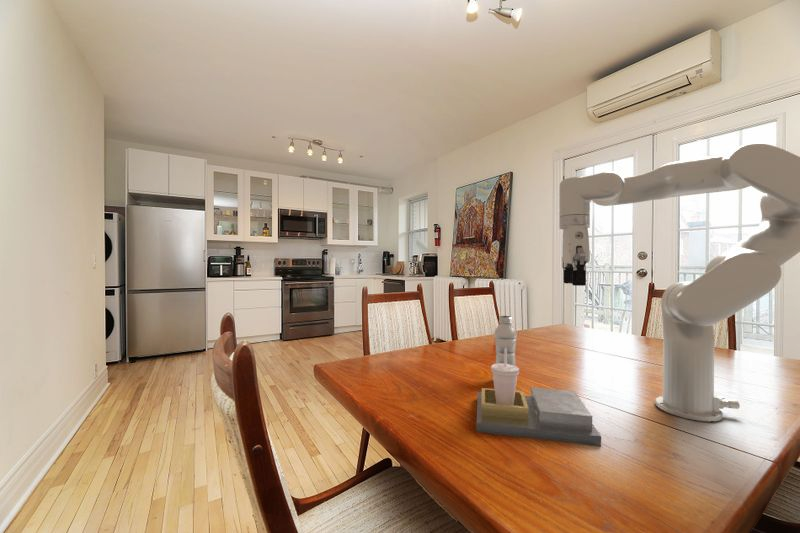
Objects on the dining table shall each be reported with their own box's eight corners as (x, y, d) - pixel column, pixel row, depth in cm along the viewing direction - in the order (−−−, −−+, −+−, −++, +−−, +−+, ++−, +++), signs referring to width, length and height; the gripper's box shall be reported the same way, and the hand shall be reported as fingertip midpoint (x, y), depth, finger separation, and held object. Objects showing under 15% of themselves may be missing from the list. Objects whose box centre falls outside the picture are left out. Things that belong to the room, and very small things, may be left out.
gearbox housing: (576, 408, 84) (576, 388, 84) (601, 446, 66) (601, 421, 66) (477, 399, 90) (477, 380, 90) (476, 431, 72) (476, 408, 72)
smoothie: (521, 406, 80) (522, 347, 80) (515, 416, 75) (515, 353, 75) (495, 400, 84) (495, 344, 84) (487, 409, 79) (487, 349, 78)
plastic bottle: (518, 386, 98) (518, 318, 98) (494, 385, 100) (494, 318, 100) (515, 379, 105) (515, 315, 105) (493, 378, 106) (493, 314, 106)
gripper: (599, 218, 84) (599, 286, 85) (580, 225, 101) (580, 282, 101) (567, 219, 86) (566, 286, 86) (553, 226, 103) (553, 282, 103)
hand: (574, 284), depth 94 cm, fingers open, 9 cm apart
